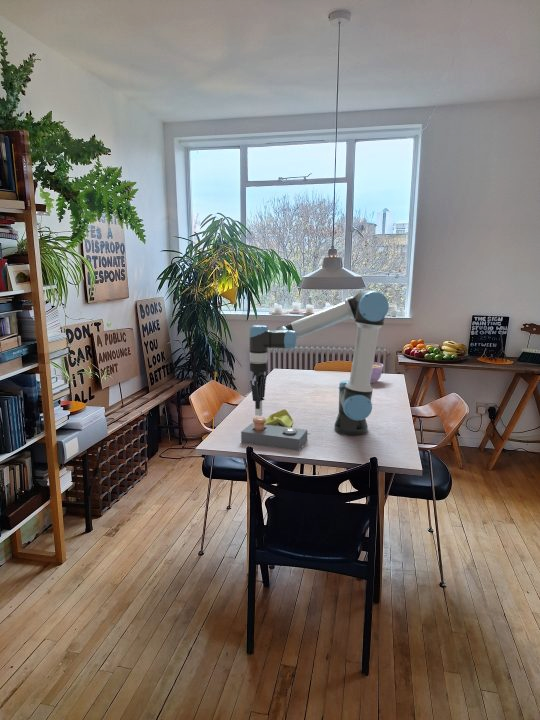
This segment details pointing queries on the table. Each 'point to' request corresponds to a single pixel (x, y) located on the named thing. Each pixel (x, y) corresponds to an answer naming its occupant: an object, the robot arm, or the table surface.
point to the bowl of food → (376, 371)
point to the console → (274, 437)
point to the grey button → (289, 431)
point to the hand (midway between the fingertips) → (258, 415)
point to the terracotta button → (259, 423)
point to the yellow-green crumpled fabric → (280, 419)
